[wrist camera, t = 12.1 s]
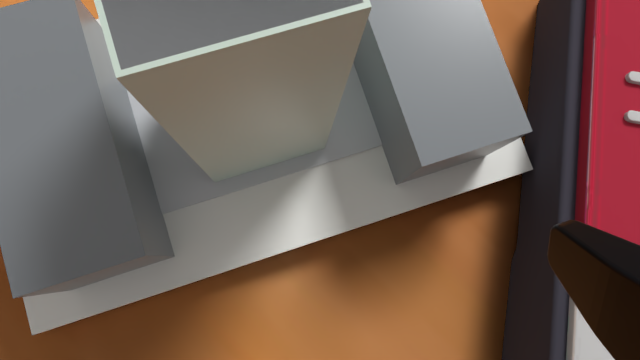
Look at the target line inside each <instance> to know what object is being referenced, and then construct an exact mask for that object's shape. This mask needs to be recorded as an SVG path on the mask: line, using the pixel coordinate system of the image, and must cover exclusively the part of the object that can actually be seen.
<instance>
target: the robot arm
mask: <svg viewBox="0 0 640 360" xmlns="http://www.w3.org/2000/svg"><path fill="white" fill-rule="evenodd" d="M547 256H548V261H549V264H550V266H551V268H552V270H553V271H554V273H555V274H556V276H557V277H558V279H559V280H560V282H561V284H562V285H563V287H564V288H565V290H566V291H567V293H568V294H569V296H570V297H571V299H572V301H573V302H574V304H575V305H576V307H577V308H578V310H579V311H580V313H581V315H582V316H583V318H584V319H585V321H586V322H587V324H588V325H589V327H590V328H591V330H592V331H593V333H594V334H595V335H596V337H597V338H598V339H599V341H600V342H601V343H602V344H603V346H604V347H605V348H606V349H607V351H608V352H609V353H610V354H611V356H612V357H613V358H614V359H615V360H640V245H638V244H635V243H633V242H630V241H628V240H625V239H623V238H620V237H618V236H615V235H613V234H610V233H608V232H605V231H603V230H600V229H597V228H595V227H592V226H590V225H587V224H585V223H582V222H580V221H577V220H568V221H565V222H562V223H559V224H556V225H554V226H553V227H552V228H551V231H550V238H549V246H548V253H547Z"/></svg>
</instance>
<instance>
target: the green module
mask: <svg viewBox="0 0 640 360" xmlns="http://www.w3.org/2000/svg"><path fill="white" fill-rule="evenodd" d="M94 2H95V6H96V9H97V13H98V16H99V20H100V23H101V27H102V30H103V34H104V37H105V41H106V44H107V48H108V51H109V55H110V59H111V62H112V66H113V69H114V73H115V76H116V79H117V80H118V81H119V82H120V83H121V84H122V85H123V86H124V87H125V88H126V89H127V90H128V91H129V92H130V93H131V94H132V95H133V97H134V98H135V99H136V100H137V101H138V102H139V103H140V104H141V105H142V106H143V107H144V108H145V109H146V110H147V111H148V112H149V113H150V114H151V116H152V117H153V118H154V119H155V120H156V121H157V122H158V123H159V124H160V125H161V126H162V127H163V128H164V129H165V130H166V131H167V132H168V134H169V135H170V136H171V137H172V138H173V139H174V140H175V141H176V142H177V143H178V144H179V145H180V146H181V147H182V148H183V149H184V150H185V151H186V153H187V154H188V155H189V156H190V157H191V158H192V159H193V160H194V161H195V162H196V163H197V164H198V165H199V166H200V167H201V168H202V169H203V171H204V172H205V173H206V174H207V175H208V176H209V177H210V178H211V179H212V180H213V181H214V182H218V181H221V180H224V179H228V178H231V177H234V176H237V175H241V174H244V173H247V172H250V171H254V170H257V169H260V168H263V167H266V166H270V165H273V164H276V163H279V162H283V161H286V160H289V159H292V158H296V157H299V156H302V155H305V154H308V153H312V152H315V151H318V150H321V149H325V146H326V143H327V140H328V137H329V134H330V131H331V128H332V125H333V122H334V119H335V116H336V113H337V110H338V107H339V104H340V101H341V98H342V95H343V92H344V89H345V86H346V83H347V80H348V77H349V74H350V71H351V68H352V65H353V62H354V59H355V56H356V53H357V50H358V47H359V44H360V41H361V37H362V34H363V31H364V28H365V25H366V22H367V19H368V16H369V13H370V10H371V7H372V6H371V3H370V0H94Z"/></svg>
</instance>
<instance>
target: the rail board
mask: <svg viewBox="0 0 640 360" xmlns="http://www.w3.org/2000/svg"><path fill="white" fill-rule="evenodd" d="M370 3H371V6H372V7H371V10H370V13H369V16H368V19H367V22H366V25H365V28H364V31H363V34H362V37H361V41H360V44H359V47H358V50H357V53H356V56H355V59H354V62H353V65H352V68H351V71H350V74H349V77H348V80H347V83H346V86H345V89H344V92H343V95H342V98H341V101H340V104H339V107H338V110H337V113H336V116H335V119H334V122H333V125H332V128H331V131H330V134H329V137H328V140H327V143H326V146H325V149H321V150H318V151H315V152H312V153H308V154H305V155H302V156H299V157H296V158H292V159H289V160H286V161H283V162H279V163H276V164H273V165H270V166H266V167H263V168H260V169H257V170H254V171H250V172H247V173H244V174H241V175H237V176H234V177H231V178H228V179H224V180H221V181H218V182H214V181H213V180H212V179H211V178H210V177H209V176H208V175H207V174H206V173H205V172H204V171H203V169H202V168H201V167H200V166H199V165H198V164H197V163H196V162H195V161H194V160H193V159H192V158H191V157H190V156H189V155H188V154H187V153H186V151H185V150H184V149H183V148H182V147H181V146H180V145H179V144H178V143H177V142H176V141H175V140H174V139H173V138H172V137H171V136H170V135H169V134H168V132H167V131H166V130H165V129H164V128H163V127H162V126H161V125H160V124H159V123H158V122H157V121H156V120H155V119H154V118H153V117H152V116H151V114H150V113H149V112H148V111H147V110H146V109H145V108H144V107H143V106H142V105H141V104H140V103H139V102H138V101H137V100H136V99H135V98H134V97H133V95H132V94H131V93H130V92H129V91H128V90H127V89H126V88H125V87H124V86H123V85H122V84H121V83H120V82H119V81H118V80H117V79H116V76H115V73H114V69H113V66H112V62H111V59H110V55H109V51H108V48H107V44H106V41H105V37H104V34H103V30H102V27H101V23H100V20H99V19H96V20H95V18H94V17H93V16H92V15H91V13H90V12H89V11H88V10H87V8H86V7H85V6H84V5H83V3H82V2H81V1H80V0H29V1H25V2H21V3H17V4H13V5H10V6H6V7H2V8H0V247H1V251H2V255H3V259H4V263H5V267H6V272H7V276H8V280H9V284H10V288H11V292H12V297H13V298H20V297H23V300H24V304H25V309H26V313H27V317H28V321H29V325H30V329H31V333H32V335H35V334H38V333H42V332H45V331H48V330H51V329H54V328H57V327H60V326H63V325H66V324H69V323H73V322H76V321H79V320H82V319H85V318H88V317H91V316H94V315H97V314H100V313H103V312H106V311H109V310H112V309H115V308H118V307H121V306H124V305H127V304H130V303H133V302H136V301H139V300H142V299H145V298H148V297H151V296H154V295H157V294H160V293H163V292H166V291H169V290H172V289H175V288H178V287H181V286H184V285H187V284H190V283H193V282H196V281H199V280H202V279H205V278H208V277H211V276H214V275H217V274H220V273H223V272H226V271H229V270H232V269H235V268H238V267H241V266H245V265H248V264H251V263H254V262H257V261H260V260H263V259H266V258H269V257H272V256H275V255H278V254H281V253H284V252H287V251H290V250H293V249H296V248H299V247H302V246H305V245H308V244H311V243H314V242H317V241H320V240H323V239H326V238H329V237H332V236H335V235H338V234H341V233H344V232H347V231H350V230H353V229H356V228H359V227H362V226H365V225H368V224H371V223H374V222H377V221H380V220H383V219H386V218H389V217H392V216H395V215H398V214H401V213H404V212H407V211H410V210H413V209H416V208H420V207H423V206H426V205H429V204H432V203H435V202H438V201H441V200H444V199H447V198H450V197H453V196H456V195H459V194H462V193H465V192H468V191H471V190H474V189H477V188H480V187H483V186H486V185H489V184H492V183H495V182H498V181H501V180H504V179H507V178H510V177H513V176H516V175H519V174H522V173H525V172H527V171H530V170H533V167H532V165H531V162H530V160H529V157H528V154H527V152H526V149H525V147H524V144H523V142H522V139H521V137H523V136H524V135H526V134H528V133H530V132H532V128H531V126H530V123H529V121H528V118H527V116H526V113H525V111H524V108H523V105H522V103H521V100H520V98H519V95H518V93H517V90H516V88H515V85H514V83H513V80H512V78H511V75H510V73H509V70H508V68H507V65H506V63H505V60H504V58H503V55H502V53H501V50H500V48H499V45H498V43H497V40H496V38H495V35H494V33H493V30H492V28H491V25H490V23H489V20H488V18H487V15H486V13H485V10H484V8H483V5H482V2H481V0H370Z"/></svg>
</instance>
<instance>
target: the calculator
mask: <svg viewBox="0 0 640 360" xmlns="http://www.w3.org/2000/svg"><path fill="white" fill-rule="evenodd" d="M527 118H528V121H529V123H530V126H531V128H532V132H530V133H528V134H526V135H525V149H526V152H527V154H528V157H529V160H530V162H531V165H532V167H533V170H530V171H527V172H525V173H523V174H522V187H521V199H520V212H519V225H518V238H517V247H516V250H515V253H514V255H513V258H512V263H511V272H510V281H509V291H508V301H507V311H506V321H505V331H504V341H503V350H502V360H615V359H614V358H613V357H612V356H611V354H610V353H609V352H608V351H607V349H606V348H605V347H604V346H603V344H602V343H601V342H600V341H599V339H598V338H597V337H596V335H595V334H594V333H593V331H592V330H591V328H590V327H589V325H588V324H587V322H586V321H585V319H584V318H583V316H582V315H581V313H580V311H579V310H578V308H577V307H576V305H575V304H574V302H573V301H572V299H571V297H570V296H569V294H568V293H567V291H566V290H565V288H564V287H563V285H562V284H561V282H560V280H559V279H558V277H557V276H556V274H555V273H554V271H553V270H552V268H551V266H550V264H549V261H548V256H547V253H548V246H549V238H550V231H551V228H552V227H553V226H554V225H556V224H559V223H562V222H565V221H568V220H577V221H580V222H582V223H585V224H587V225H590V226H592V227H595V228H597V229H600V230H603V231H605V232H608V233H610V234H613V235H615V236H618V237H620V238H623V239H625V240H628V241H630V242H633V243H635V244H638V245H640V0H540V1H539V3H538V8H537V17H536V27H535V36H534V46H533V56H532V66H531V77H530V87H529V97H528V109H527Z"/></svg>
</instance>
